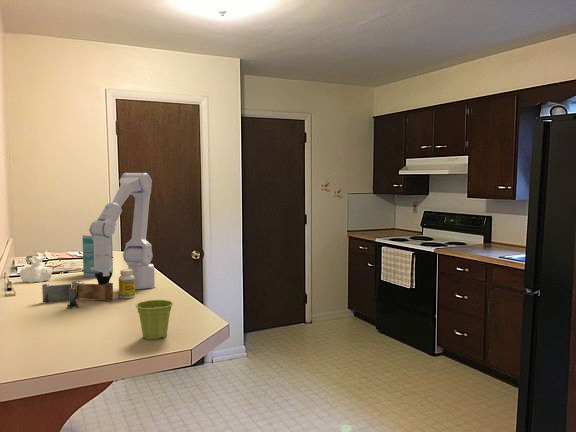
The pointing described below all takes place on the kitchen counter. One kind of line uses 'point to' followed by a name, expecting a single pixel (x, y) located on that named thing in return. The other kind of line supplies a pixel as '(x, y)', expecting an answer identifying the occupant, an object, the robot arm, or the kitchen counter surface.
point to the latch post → (72, 299)
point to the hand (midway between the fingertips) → (103, 293)
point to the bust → (36, 271)
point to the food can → (90, 256)
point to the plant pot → (154, 318)
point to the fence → (58, 292)
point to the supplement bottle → (126, 284)
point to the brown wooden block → (96, 291)
